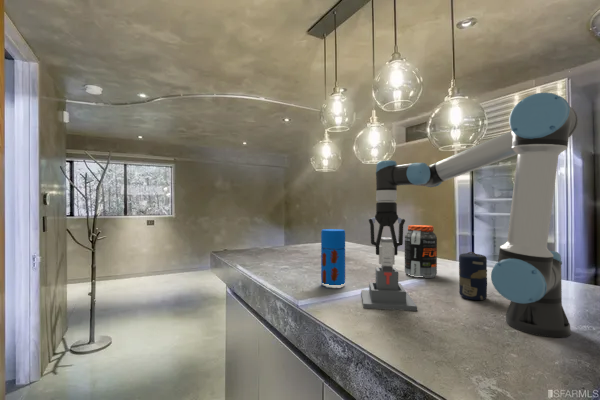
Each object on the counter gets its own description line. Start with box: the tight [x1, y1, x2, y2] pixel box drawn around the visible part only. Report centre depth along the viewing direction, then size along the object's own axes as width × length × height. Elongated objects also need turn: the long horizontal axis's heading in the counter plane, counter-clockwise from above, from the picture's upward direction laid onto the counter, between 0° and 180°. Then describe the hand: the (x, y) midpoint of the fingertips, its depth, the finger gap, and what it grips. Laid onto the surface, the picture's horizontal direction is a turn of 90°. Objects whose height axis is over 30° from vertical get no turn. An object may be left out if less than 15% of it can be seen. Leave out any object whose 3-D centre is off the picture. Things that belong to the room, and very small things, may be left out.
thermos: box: [320, 228, 346, 285], centre depth 138 cm, size 11×11×25 cm
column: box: [379, 236, 394, 271], centre depth 115 cm, size 6×4×22 cm
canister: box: [458, 251, 488, 301], centre depth 120 cm, size 10×10×18 cm
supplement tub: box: [404, 224, 438, 279], centre depth 159 cm, size 16×16×26 cm
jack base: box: [360, 266, 418, 312], centre depth 115 cm, size 18×18×13 cm
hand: (386, 263), depth 115 cm, fingers closed on column, 4 cm apart
